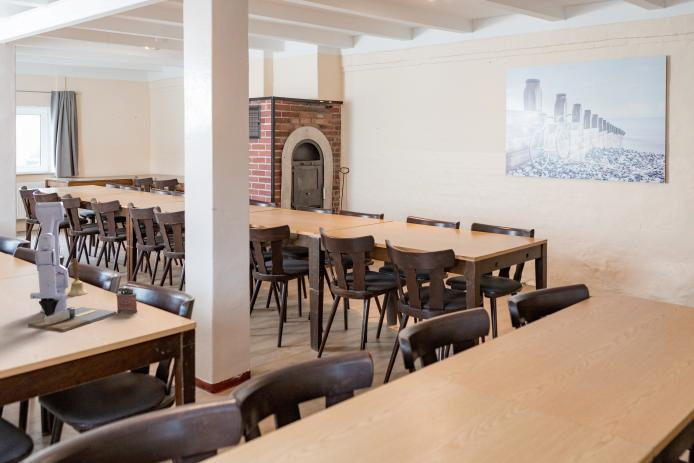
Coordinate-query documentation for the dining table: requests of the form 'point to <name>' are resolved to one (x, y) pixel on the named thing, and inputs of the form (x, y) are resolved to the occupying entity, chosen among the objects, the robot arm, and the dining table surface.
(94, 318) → the door plate
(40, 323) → the plate
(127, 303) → the red tin can
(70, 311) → the lock bar
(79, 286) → the hand bell
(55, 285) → the robot arm
